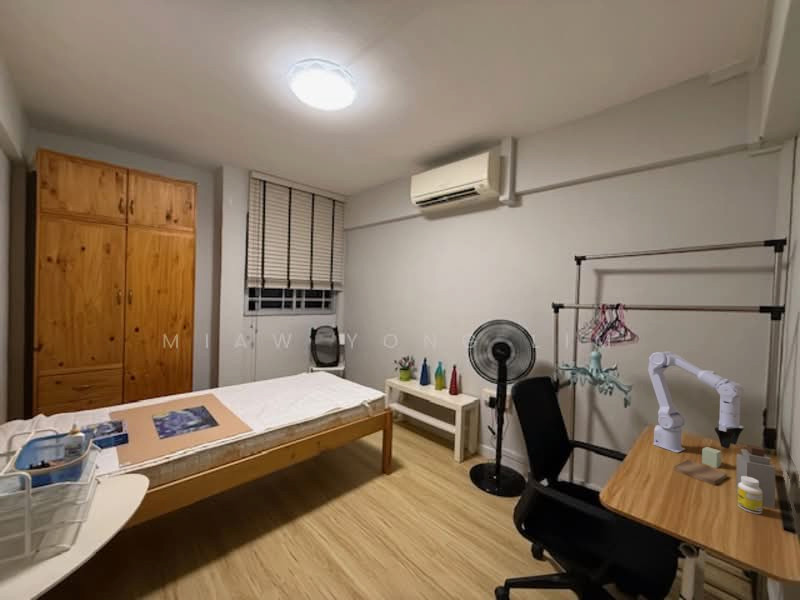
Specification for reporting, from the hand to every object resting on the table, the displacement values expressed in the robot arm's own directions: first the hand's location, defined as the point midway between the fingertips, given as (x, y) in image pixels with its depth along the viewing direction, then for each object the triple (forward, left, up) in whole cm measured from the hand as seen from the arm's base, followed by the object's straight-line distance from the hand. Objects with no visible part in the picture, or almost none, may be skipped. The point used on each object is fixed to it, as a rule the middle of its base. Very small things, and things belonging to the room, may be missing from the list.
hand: (728, 445), depth 130 cm
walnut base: (-4, -15, -10) cm, 18 cm away
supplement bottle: (+13, -29, -10) cm, 34 cm away
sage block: (-5, -1, -10) cm, 11 cm away
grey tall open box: (+12, -20, -10) cm, 26 cm away
